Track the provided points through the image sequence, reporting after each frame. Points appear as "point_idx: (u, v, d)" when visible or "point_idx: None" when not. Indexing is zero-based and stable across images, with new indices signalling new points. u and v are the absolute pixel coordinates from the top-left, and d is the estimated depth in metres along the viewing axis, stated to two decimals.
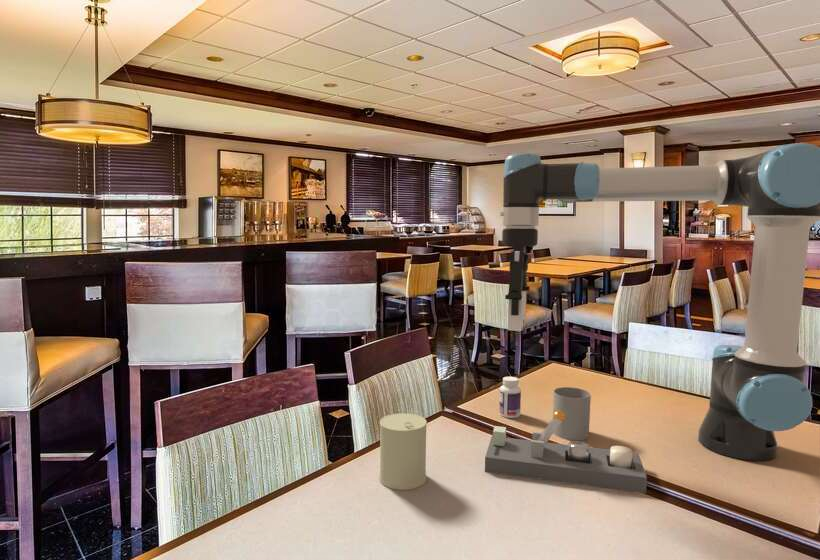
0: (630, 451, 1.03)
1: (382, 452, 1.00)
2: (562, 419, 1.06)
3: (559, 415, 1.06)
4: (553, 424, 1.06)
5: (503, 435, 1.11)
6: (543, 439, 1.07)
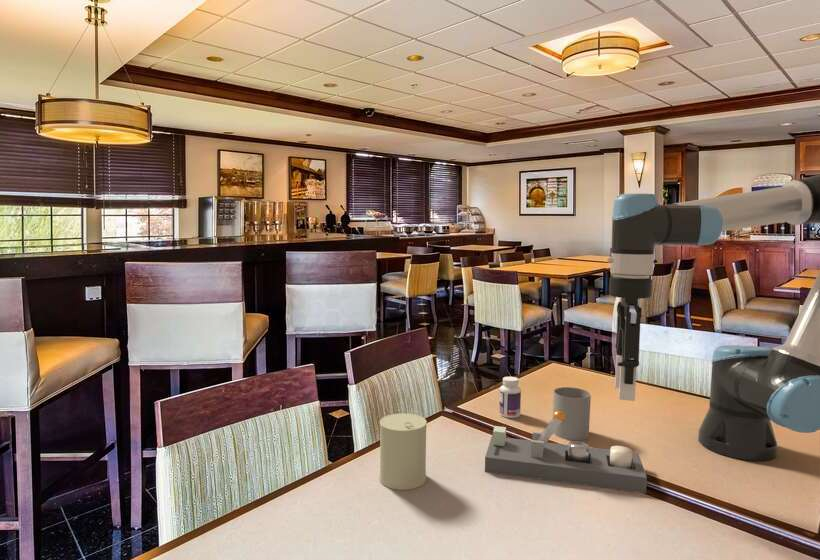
0: (630, 451, 1.03)
1: (382, 452, 1.00)
2: (562, 419, 1.06)
3: (559, 415, 1.06)
4: (553, 424, 1.06)
5: (503, 435, 1.11)
6: (543, 439, 1.07)
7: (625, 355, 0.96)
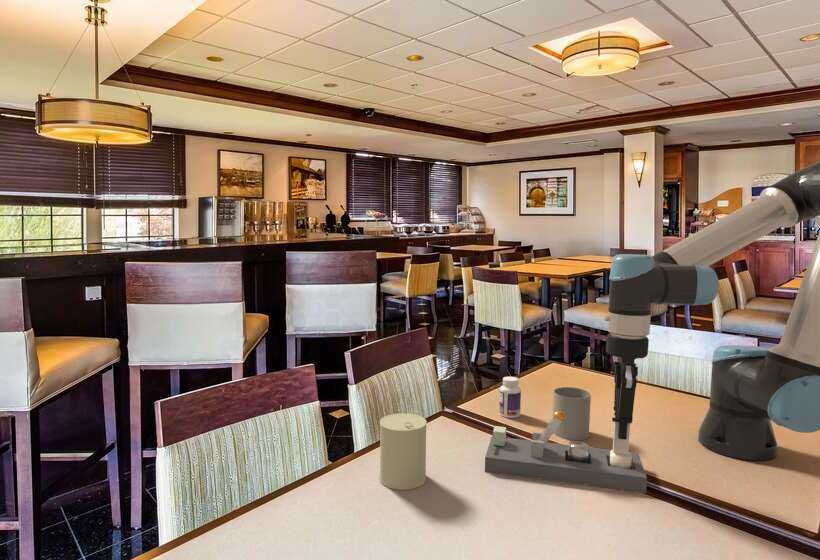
0: (630, 454, 1.04)
1: (382, 452, 1.00)
2: (562, 419, 1.06)
3: (559, 415, 1.06)
4: (553, 424, 1.06)
5: (503, 435, 1.11)
6: (543, 439, 1.07)
7: (619, 414, 1.00)
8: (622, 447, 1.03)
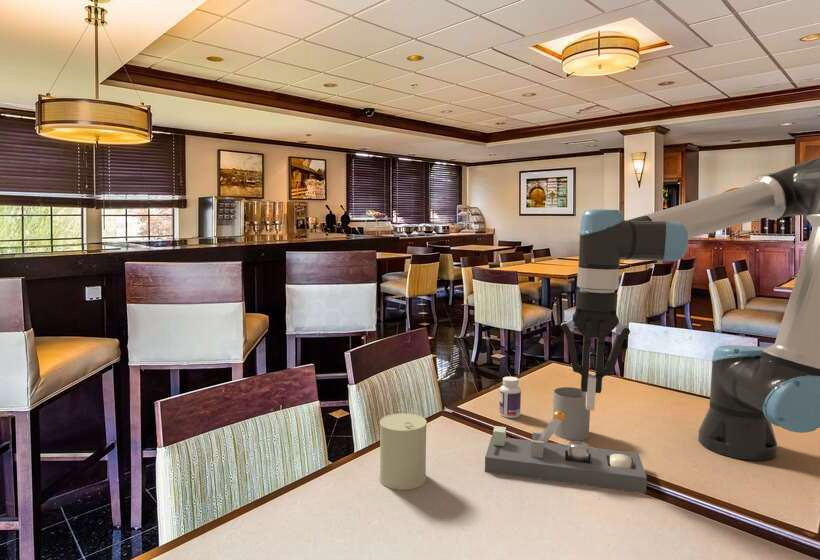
0: (630, 459, 1.04)
1: (382, 452, 1.00)
2: (562, 419, 1.06)
3: (559, 415, 1.06)
4: (553, 424, 1.06)
5: (503, 435, 1.11)
6: (543, 439, 1.07)
7: None
8: (586, 401, 1.05)
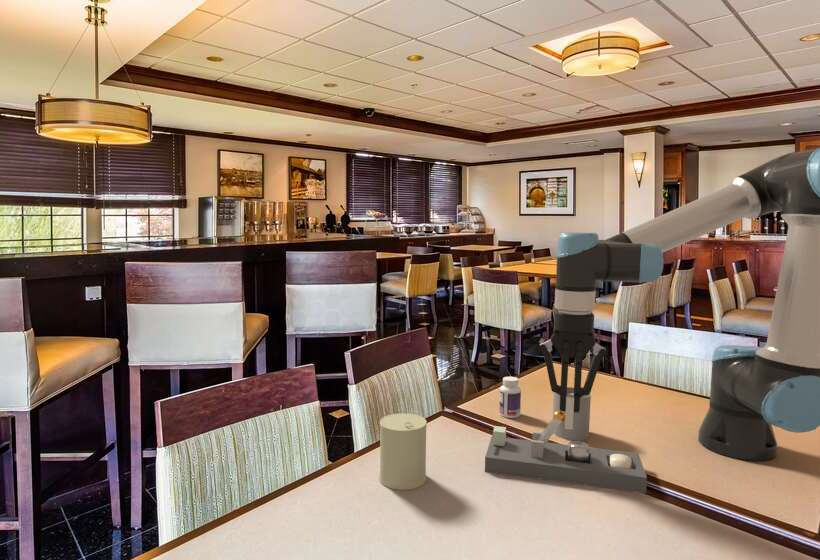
0: (630, 459, 1.04)
1: (382, 452, 1.00)
2: (562, 419, 1.06)
3: (559, 415, 1.06)
4: (553, 424, 1.06)
5: (503, 435, 1.11)
6: (543, 439, 1.07)
7: None
8: None
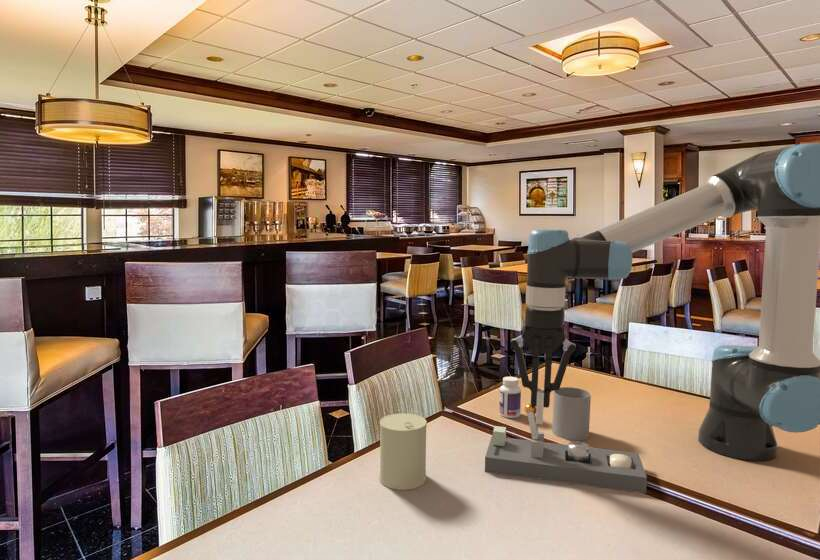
0: (630, 459, 1.04)
1: (382, 452, 1.00)
2: (533, 409, 1.07)
3: (528, 408, 1.07)
4: (529, 419, 1.07)
5: (503, 435, 1.11)
6: (533, 437, 1.07)
7: None
8: None
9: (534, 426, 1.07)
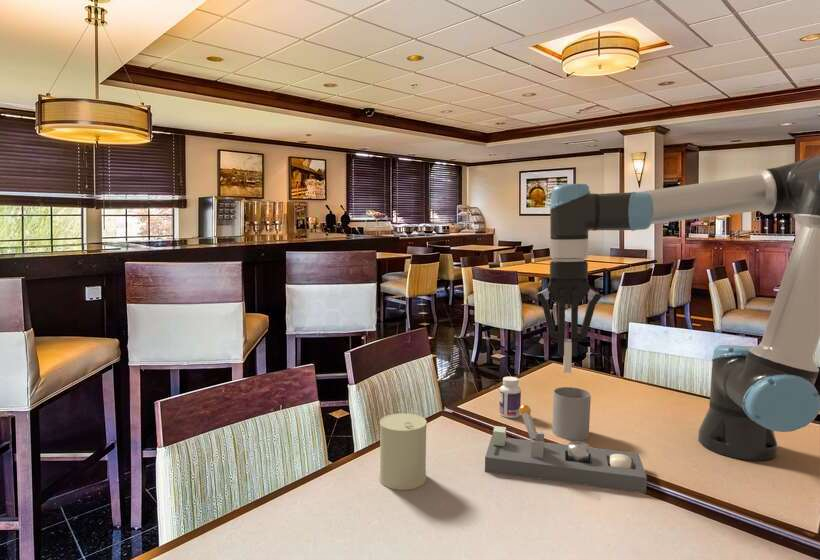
0: (630, 459, 1.04)
1: (382, 452, 1.00)
2: (527, 410, 1.07)
3: (522, 409, 1.08)
4: (525, 420, 1.07)
5: (503, 435, 1.11)
6: (531, 438, 1.07)
7: None
8: None
9: (530, 426, 1.07)
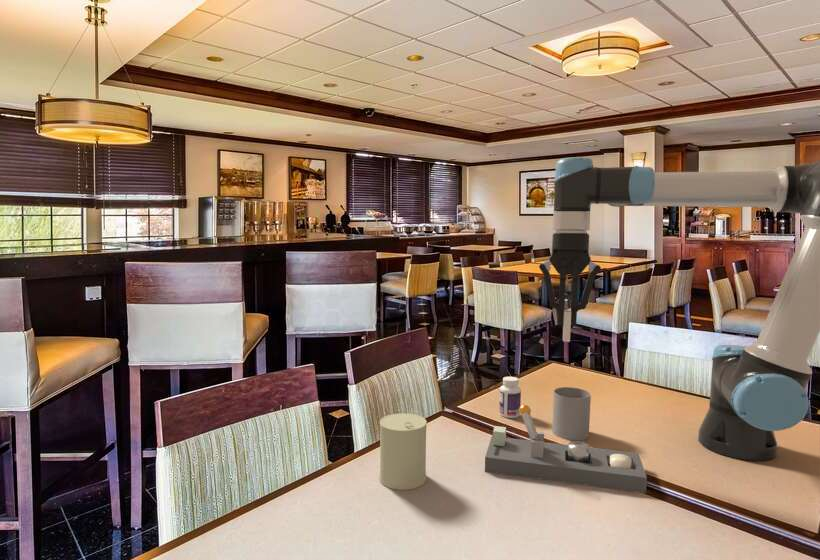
0: (630, 459, 1.04)
1: (382, 452, 1.00)
2: (527, 410, 1.07)
3: (522, 409, 1.08)
4: (525, 420, 1.07)
5: (503, 435, 1.11)
6: (531, 438, 1.07)
7: None
8: None
9: (530, 426, 1.07)
